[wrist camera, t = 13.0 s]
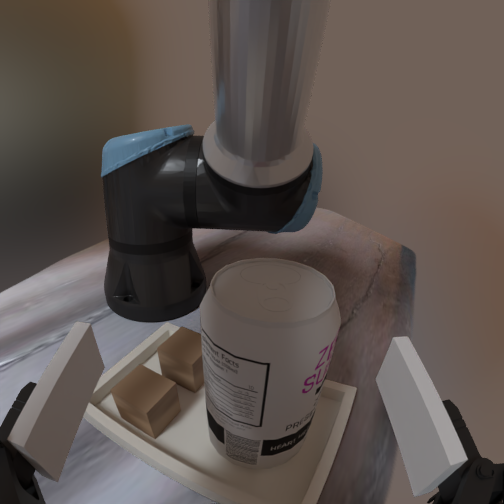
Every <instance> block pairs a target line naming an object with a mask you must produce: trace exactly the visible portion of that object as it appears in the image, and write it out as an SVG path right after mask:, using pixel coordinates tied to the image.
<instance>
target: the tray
mask: <svg viewBox="0 0 504 504" xmlns="http://www.w3.org/2000/svg"><path fill="white" fill-rule="evenodd" d="M179 328H180V327H177V326H175V325H173V324H170V323H168V322H166V323H165V324H164V325H163V326H162V327H160V328H159V329H158V330H157V331H155V332H154V333H153V334H152V335H151V336H149V337H148V338H147V339H146V340H145V341H143V342H142V343H141V344H140V345H138V346H137V347H136V348H135V349H134V350H132V351H131V352H130V353H129V354H128V355H126V356H125V357H124V358H123V359H121V360H120V361H119V362H118V363H117V364H115V365H114V366H113V367H112V368H111V369H109V370H108V371H107V372H106V373H104V374H103V375H102V376H101V377H100V379H99V381H98V383H97V386H96V388H95V390H94V392H93V395H92V397H91V399H90V401H89V404H88V406H87V408H86V411H85V413H84V416H83V418H84V419H85V420H87V421H88V422H89V423H90V424H92V425H93V426H94V427H95V428H97V429H98V430H99V431H101V432H102V433H103V434H104V435H106V436H107V437H108V438H110V439H111V440H113V441H114V442H115V443H117V444H118V445H119V446H121V447H122V448H124V449H125V450H127V451H128V452H130V453H131V454H132V455H134V456H135V457H137V458H138V459H140V460H142V461H143V462H145V463H146V464H148V465H149V466H151V467H153V468H154V469H156V470H158V471H159V472H161V473H163V474H164V475H166V476H168V477H169V478H171V479H173V480H175V481H176V482H178V483H180V484H182V485H184V486H186V487H187V488H189V489H191V490H193V491H195V492H197V493H199V494H201V495H203V496H205V497H207V498H209V499H211V500H213V501H215V502H217V503H220V504H316V503H317V501H318V499H319V496H320V494H321V492H322V489H323V487H324V484H325V482H326V479H327V477H328V474H329V472H330V469H331V466H332V464H333V461H334V458H335V456H336V453H337V450H338V447H339V444H340V442H341V439H342V436H343V433H344V430H345V427H346V423H347V420H348V417H349V414H350V411H351V407H352V404H353V401H354V397H355V394H356V390H357V388H356V387H352V386H349V385H345V384H341V383H338V382H334V381H331V380H327V379H325V382H324V385H323V388H322V391H321V395H320V398H319V401H318V404H317V407H316V410H315V413H314V416H313V419H312V422H311V425H310V428H309V430H308V433H307V436H306V439H305V441H304V443H303V445H302V447H301V449H300V451H299V453H297V454H296V455H295V456H294V457H293V458H291V459H290V460H289V461H288V462H286V463H284V464H281V465H278V466H276V467H273V468H270V469H249V468H245V467H242V466H238V465H235V464H232V463H231V462H229V461H228V460H227V459H225V458H224V457H222V456H221V455H219V454H218V452H217V451H216V449H215V448H214V446H213V445H212V443H211V442H210V437H209V431H208V422H207V411H206V399H205V387H204V384H203V385H202V386H201V387H200V388H199V389H198V391H197V392H196V393H194V392H192V391H189V390H187V389H185V388H183V387H181V386H179V385H177V384H176V385H177V391H178V396H179V402H180V407H181V411H180V412H179V413H178V415H177V416H176V417H175V418H174V419H173V420H172V421H171V422H170V424H169V425H168V426H167V427H166V428H165V429H164V430H163V431H162V432H161V434H160V435H159V436H158V437H157V438H156V439H154V438H152V437H151V436H149V435H147V434H146V433H144V432H142V431H141V430H139V429H138V428H136V427H135V426H133V425H132V424H130V423H128V422H127V421H125V420H124V419H122V418H121V416H120V414H119V411H118V409H117V406H116V404H115V401H114V399H113V396H112V394H111V391H110V390H111V389H112V388H113V387H114V386H115V385H116V384H118V383H119V382H120V381H121V380H122V379H123V378H124V377H126V376H127V375H128V374H129V373H130V372H131V371H132V370H134V369H135V368H136V367H137V366H138V365H139V364H142V365H143V366H145V367H147V368H149V369H151V370H153V371H154V372H156V373H158V374H160V375H162V373H161V368H160V363H159V357H158V352H157V348H158V347H159V346H160V345H161V344H162V343H163V342H165V341H166V340H167V339H168V338H169V337H170V336H171V335H172V334H174V333H175V332H176V331H177V330H178V329H179Z"/></svg>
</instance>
